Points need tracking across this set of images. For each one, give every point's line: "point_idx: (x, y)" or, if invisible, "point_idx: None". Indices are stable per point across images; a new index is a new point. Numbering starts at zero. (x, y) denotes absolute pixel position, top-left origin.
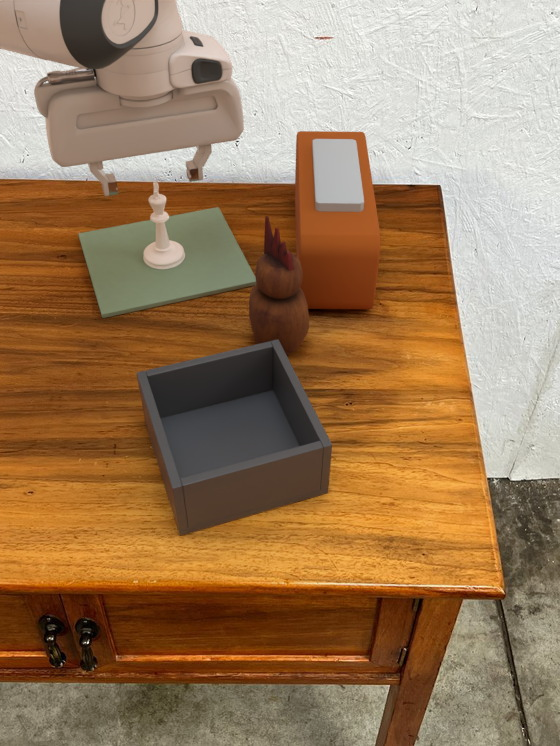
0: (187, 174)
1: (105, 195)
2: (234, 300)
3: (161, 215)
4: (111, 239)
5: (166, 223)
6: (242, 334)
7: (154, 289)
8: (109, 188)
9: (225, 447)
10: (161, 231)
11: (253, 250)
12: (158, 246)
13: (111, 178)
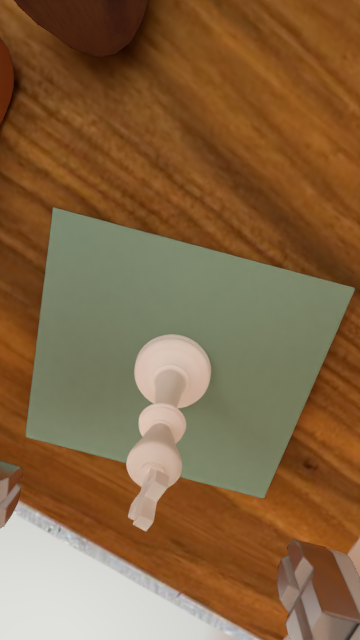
0: (11, 505)
1: (345, 555)
2: (118, 193)
3: (159, 421)
4: (226, 458)
5: (125, 445)
6: (154, 82)
7: (235, 298)
8: (343, 583)
9: None
10: (169, 395)
11: (21, 305)
12: (183, 379)
13: (327, 637)
